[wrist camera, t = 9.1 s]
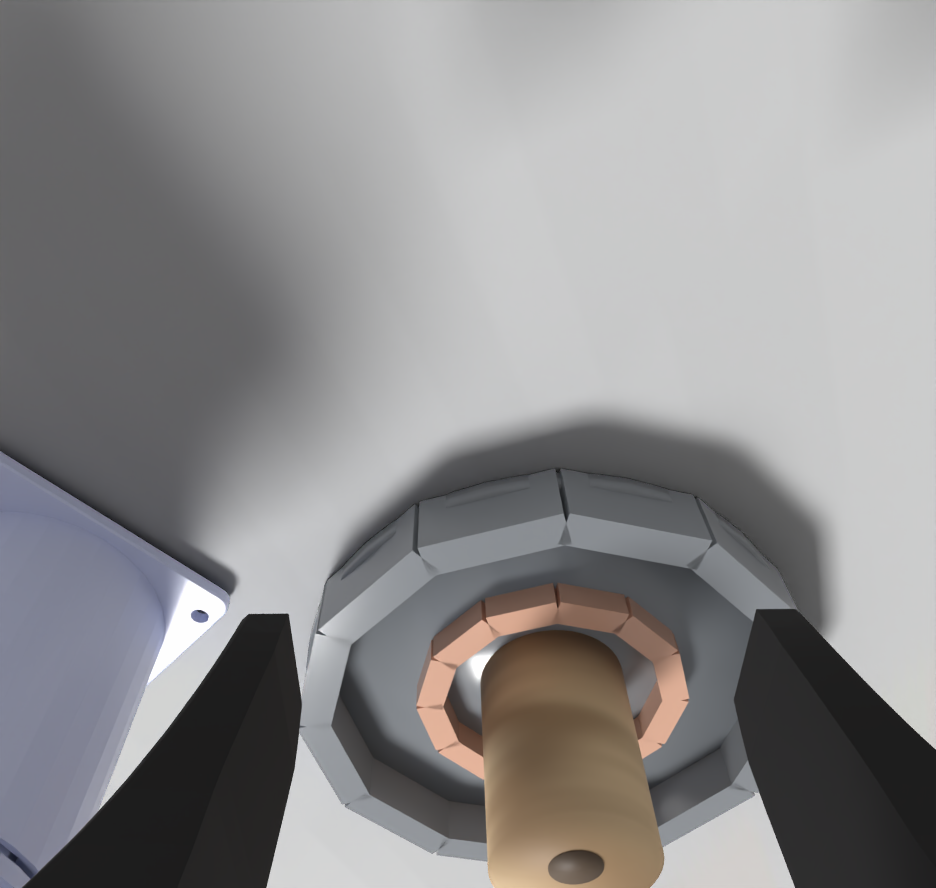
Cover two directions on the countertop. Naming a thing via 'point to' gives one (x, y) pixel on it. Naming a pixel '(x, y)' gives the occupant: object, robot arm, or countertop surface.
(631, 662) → the round tray
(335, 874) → the countertop surface
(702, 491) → the countertop surface
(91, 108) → the countertop surface
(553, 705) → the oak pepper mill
